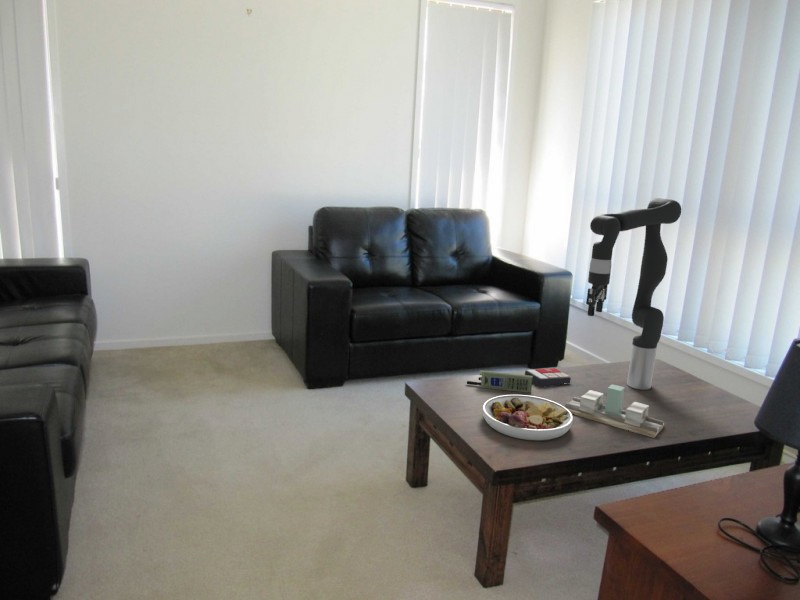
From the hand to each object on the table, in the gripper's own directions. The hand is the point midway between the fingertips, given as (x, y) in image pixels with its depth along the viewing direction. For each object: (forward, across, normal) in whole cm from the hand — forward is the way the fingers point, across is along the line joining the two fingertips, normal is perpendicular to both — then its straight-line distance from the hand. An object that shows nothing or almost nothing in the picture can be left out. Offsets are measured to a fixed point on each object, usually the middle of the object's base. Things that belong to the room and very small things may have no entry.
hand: (594, 313), depth 234 cm
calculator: (+34, +7, +19) cm, 39 cm away
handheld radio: (+34, -15, +29) cm, 47 cm away
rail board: (+33, -13, -15) cm, 39 cm away
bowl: (+34, -38, +6) cm, 51 cm away
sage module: (+31, -13, -15) cm, 37 cm away
